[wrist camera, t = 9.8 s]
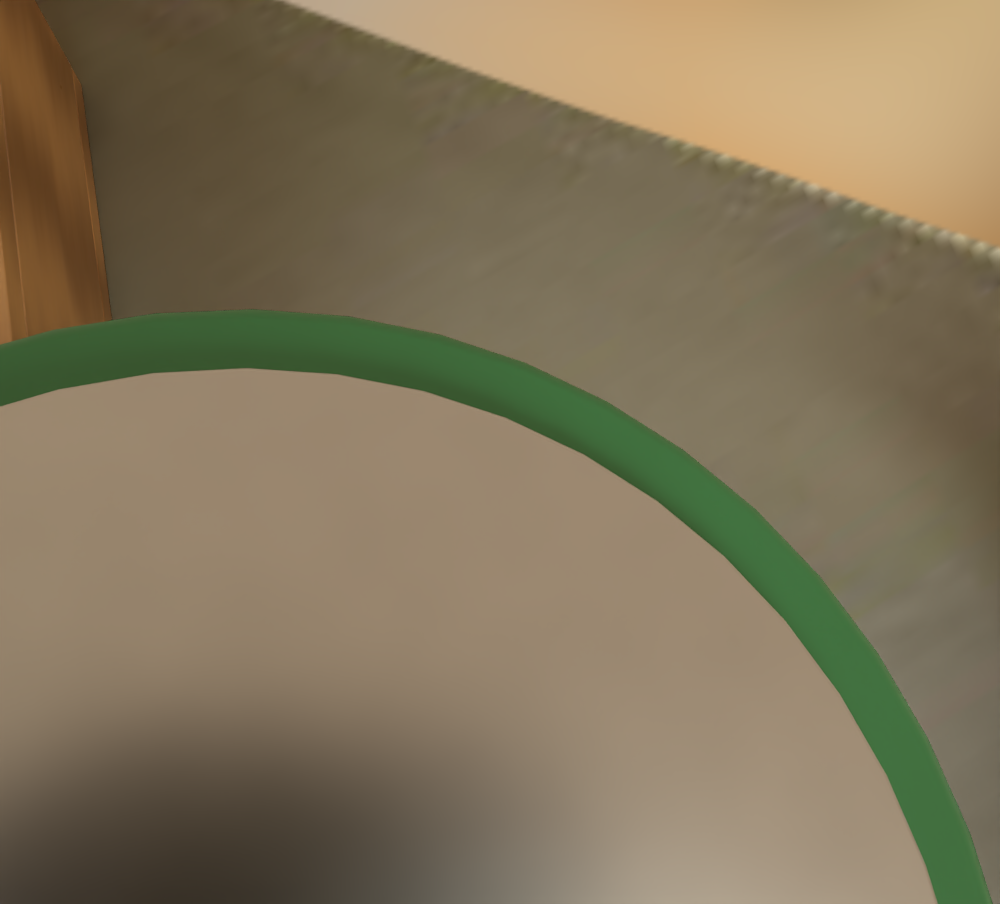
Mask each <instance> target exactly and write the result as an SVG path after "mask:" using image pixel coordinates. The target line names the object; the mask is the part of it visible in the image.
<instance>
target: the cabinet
mask: <svg viewBox="0 0 1000 904" xmlns="http://www.w3.org/2000/svg"><path fill="white" fill-rule="evenodd" d="M111 320H112V317H111V309H110V301H109V293H108V286H107V278H106V270H105V263H104V255H103V247H102V239H101V232H100V224H99V216H98V209H97V201H96V193H95V185H94V178H93V170H92V162H91V155H90V147H89V139H88V131H87V124H86V116H85V108H84V101H83V93H82V85H81V84H80V82H79V80H78V78H77V76H76V75H75V73H74V71H73V69H72V67H71V65H70V63H69V61H68V59H67V58H66V56H65V54H64V52H63V50H62V49H61V47H60V45H59V43H58V41H57V40H56V38H55V36H54V34H53V32H52V31H51V29H50V27H49V25H48V23H47V22H46V20H45V18H44V16H43V14H42V13H41V11H40V9H39V7H38V5H37V3H36V2H35V0H0V345H1V344H4V343H8V342H11V341H15V340H18V339H22V338H26V337H29V336H33V335H36V334H40V333H43V332H47V331H51V330H55V329H61V328H67V327H73V326H80V325H86V324H92V323H98V322H105V321H111Z"/></svg>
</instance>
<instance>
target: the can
mask: <svg viewBox="0 0 1000 904" xmlns="http://www.w3.org/2000/svg"><path fill="white" fill-rule="evenodd" d="M0 904H993V903H992V900H991V897H990V894H989V891H988V888H987V885H986V882H985V878H984V875H983V872H982V869H981V866H980V863H979V860H978V857H977V854H976V850H975V847H974V844H973V841H972V838H971V835H970V832H969V830H968V827H967V825H966V823H965V821H964V818H963V816H962V814H961V812H960V809H959V807H958V805H957V803H956V800H955V798H954V796H953V794H952V792H951V789H950V787H949V785H948V783H947V780H946V778H945V776H944V774H943V771H942V769H941V767H940V765H939V762H938V760H937V758H936V756H935V753H934V751H933V749H932V747H931V744H930V742H929V740H928V738H927V736H926V734H925V733H924V731H923V729H922V728H921V726H920V724H919V723H918V721H917V719H916V717H915V716H914V714H913V712H912V711H911V709H910V707H909V706H908V704H907V702H906V700H905V699H904V697H903V695H902V694H901V692H900V690H899V689H898V687H897V685H896V683H895V682H894V680H893V678H892V677H891V675H890V673H889V672H888V670H887V668H886V666H885V665H884V663H883V661H882V660H881V658H880V656H879V655H878V653H877V651H876V650H875V649H874V648H873V646H872V645H871V644H870V642H869V641H868V640H867V638H866V637H865V636H864V634H863V633H862V632H861V630H860V629H859V628H858V626H857V625H856V624H855V622H854V621H853V620H852V618H851V617H850V616H849V614H848V613H847V612H846V610H845V609H844V608H843V606H842V605H841V604H840V602H839V601H838V600H837V598H836V597H835V596H834V594H833V593H832V592H831V591H830V589H829V588H828V587H827V585H826V584H825V583H824V581H823V580H822V579H821V577H820V576H819V575H818V574H817V573H816V572H815V571H814V570H813V569H812V568H811V567H810V566H809V565H808V564H807V562H806V561H805V560H804V559H803V558H802V557H801V556H800V555H799V554H798V553H797V552H796V551H795V550H794V549H793V548H792V547H791V546H790V545H789V544H788V543H787V542H786V541H785V539H784V538H783V537H782V536H781V535H780V534H779V533H778V532H777V531H776V530H775V529H774V528H773V527H772V526H771V525H770V524H769V523H768V522H767V521H766V520H765V519H764V518H763V517H762V515H761V514H760V513H759V512H758V511H757V510H756V509H755V508H753V507H752V506H751V505H750V504H749V503H747V502H746V501H745V500H744V499H742V498H741V497H740V496H739V495H738V494H736V493H735V492H734V491H733V490H732V489H730V488H729V487H728V486H727V485H725V484H724V483H723V482H722V481H721V480H719V479H718V478H717V477H716V476H714V475H713V474H712V473H711V472H710V471H708V470H707V469H706V468H705V467H704V466H702V465H701V464H700V463H699V462H697V461H696V460H695V459H694V458H693V457H691V456H690V455H689V454H688V453H686V452H685V451H684V450H683V449H681V448H679V447H678V446H676V445H675V444H673V443H672V442H670V441H668V440H667V439H665V438H664V437H662V436H661V435H659V434H657V433H656V432H654V431H653V430H651V429H650V428H648V427H646V426H645V425H643V424H642V423H640V422H638V421H637V420H635V419H634V418H632V417H631V416H629V415H627V414H626V413H624V412H623V411H621V410H620V409H618V408H616V407H615V406H613V405H612V404H610V403H609V402H607V401H605V400H603V399H601V398H599V397H596V396H594V395H592V394H590V393H588V392H586V391H584V390H582V389H580V388H577V387H575V386H573V385H571V384H569V383H567V382H565V381H563V380H561V379H558V378H556V377H554V376H552V375H550V374H548V373H546V372H544V371H542V370H539V369H537V368H535V367H533V366H531V365H529V364H527V363H524V362H521V361H518V360H515V359H512V358H509V357H506V356H503V355H500V354H497V353H494V352H491V351H488V350H485V349H482V348H479V347H476V346H473V345H470V344H467V343H464V342H461V341H458V340H455V339H452V338H449V337H446V336H443V335H440V334H435V333H430V332H425V331H420V330H415V329H410V328H405V327H400V326H395V325H390V324H385V323H380V322H375V321H370V320H365V319H360V318H355V317H350V316H337V315H324V314H311V313H298V312H285V311H272V310H259V309H247V310H224V311H201V312H177V313H154V314H148V315H142V316H136V317H129V318H123V319H117V320H111V321H105V322H98V323H92V324H86V325H80V326H73V327H67V328H61V329H55V330H51V331H47V332H43V333H40V334H36V335H33V336H29V337H26V338H22V339H18V340H15V341H11V342H8V343H4V344H1V345H0Z"/></svg>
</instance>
